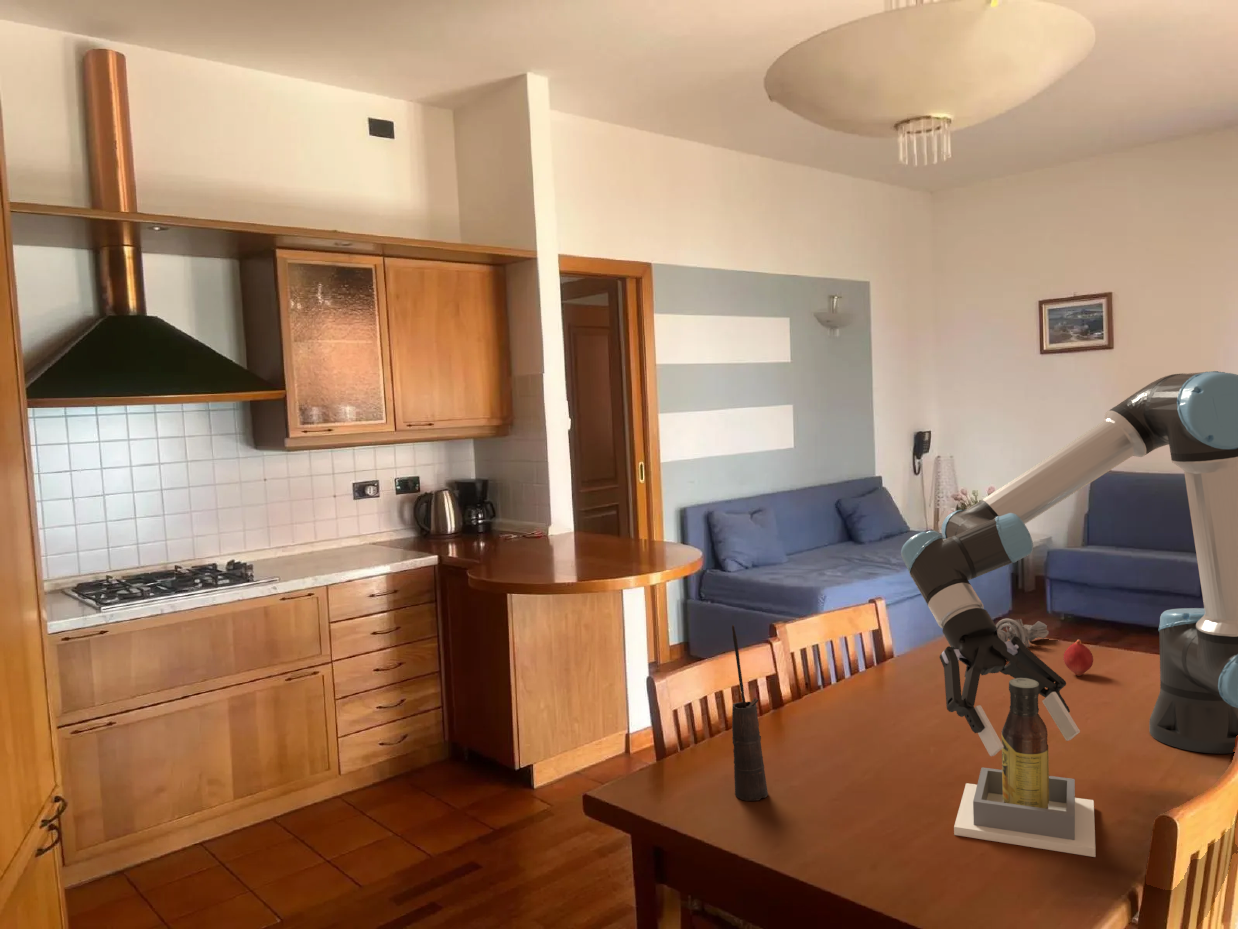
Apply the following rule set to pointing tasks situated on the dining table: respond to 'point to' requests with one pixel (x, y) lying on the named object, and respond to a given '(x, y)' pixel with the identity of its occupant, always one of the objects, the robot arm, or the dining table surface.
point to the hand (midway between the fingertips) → (1035, 744)
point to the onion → (1078, 658)
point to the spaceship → (1021, 630)
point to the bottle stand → (1027, 816)
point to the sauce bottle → (1025, 748)
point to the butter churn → (747, 745)
